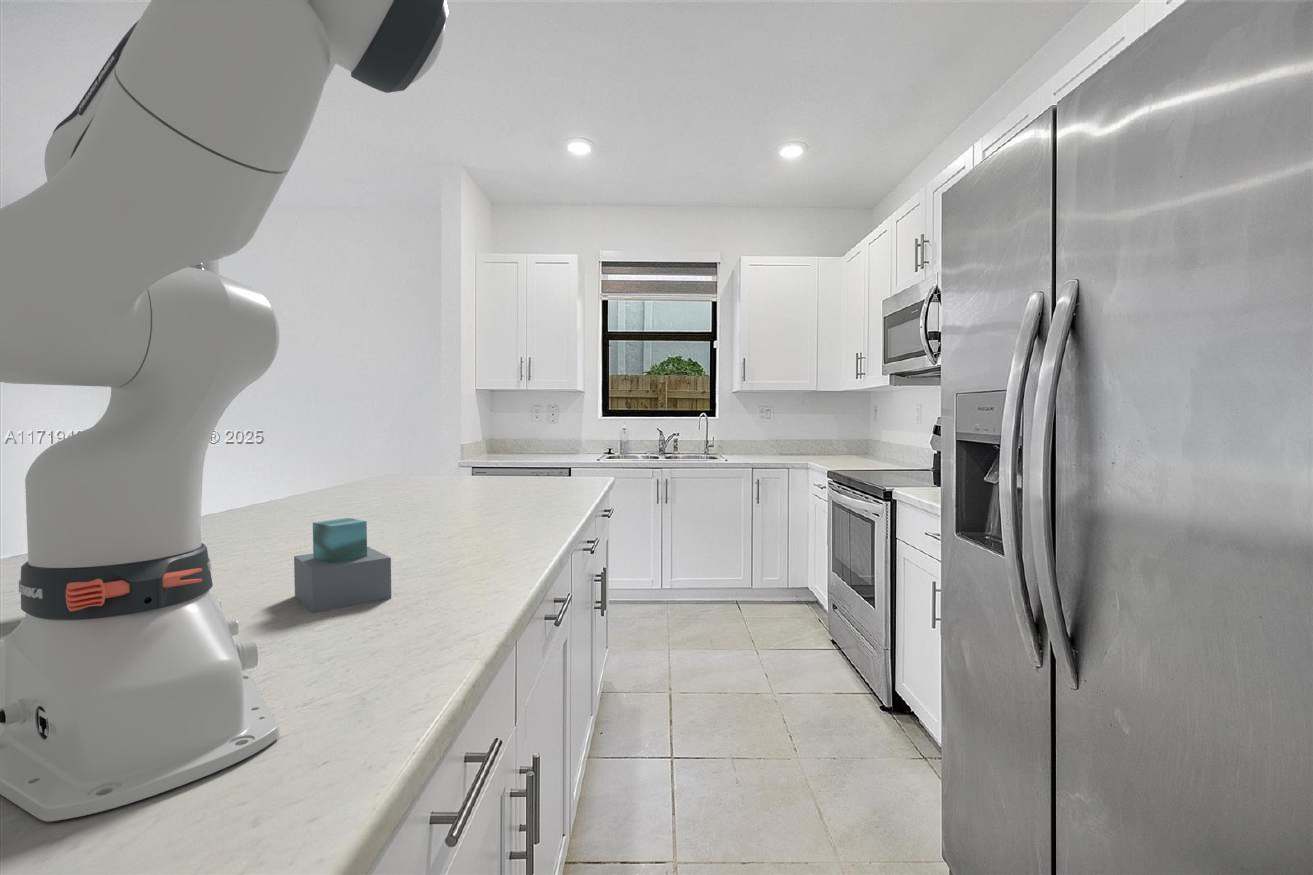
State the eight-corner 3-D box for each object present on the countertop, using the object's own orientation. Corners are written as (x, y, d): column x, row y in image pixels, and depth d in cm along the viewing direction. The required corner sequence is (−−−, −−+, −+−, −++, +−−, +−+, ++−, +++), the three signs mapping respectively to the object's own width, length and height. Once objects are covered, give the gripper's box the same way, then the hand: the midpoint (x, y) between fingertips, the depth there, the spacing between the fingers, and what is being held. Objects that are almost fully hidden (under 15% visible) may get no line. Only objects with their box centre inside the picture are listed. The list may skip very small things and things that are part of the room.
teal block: (367, 556, 90) (366, 521, 90) (332, 562, 86) (331, 526, 86) (348, 551, 93) (347, 517, 93) (313, 558, 89) (312, 522, 89)
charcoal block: (391, 599, 89) (390, 557, 89) (312, 614, 83) (311, 568, 83) (368, 585, 97) (368, 546, 97) (294, 597, 90) (294, 556, 90)
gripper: (233, 264, 77) (236, 379, 77) (183, 285, 90) (185, 383, 90) (169, 254, 72) (172, 377, 72) (125, 278, 85) (128, 382, 85)
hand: (179, 381), depth 81 cm, fingers open, 8 cm apart
